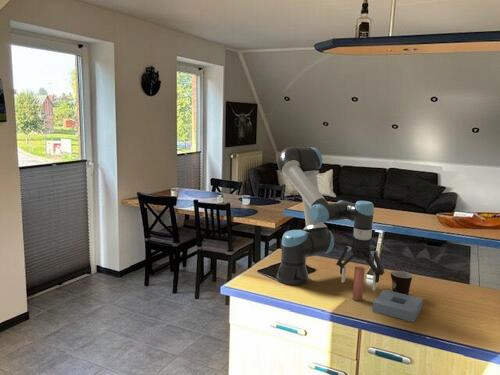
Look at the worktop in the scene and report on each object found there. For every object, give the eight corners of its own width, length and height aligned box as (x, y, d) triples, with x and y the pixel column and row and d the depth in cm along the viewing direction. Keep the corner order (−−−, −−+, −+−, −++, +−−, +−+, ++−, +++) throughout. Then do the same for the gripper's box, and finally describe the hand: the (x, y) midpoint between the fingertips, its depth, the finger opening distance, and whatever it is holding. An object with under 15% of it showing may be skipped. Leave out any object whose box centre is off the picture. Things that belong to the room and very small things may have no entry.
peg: (351, 299, 181) (353, 268, 179) (354, 296, 185) (356, 265, 182) (360, 301, 179) (362, 270, 177) (363, 298, 183) (365, 267, 180)
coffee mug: (411, 300, 182) (414, 278, 180) (391, 298, 183) (393, 276, 182) (407, 290, 193) (409, 269, 191) (387, 288, 195) (389, 267, 193)
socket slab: (372, 311, 171) (373, 302, 170) (383, 297, 184) (384, 289, 183) (413, 322, 162) (414, 312, 161) (421, 307, 175) (422, 298, 175)
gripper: (331, 234, 181) (327, 281, 184) (389, 245, 168) (385, 295, 171) (337, 230, 187) (334, 276, 191) (394, 241, 174) (390, 289, 177)
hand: (358, 285), depth 181 cm, fingers open, 13 cm apart
